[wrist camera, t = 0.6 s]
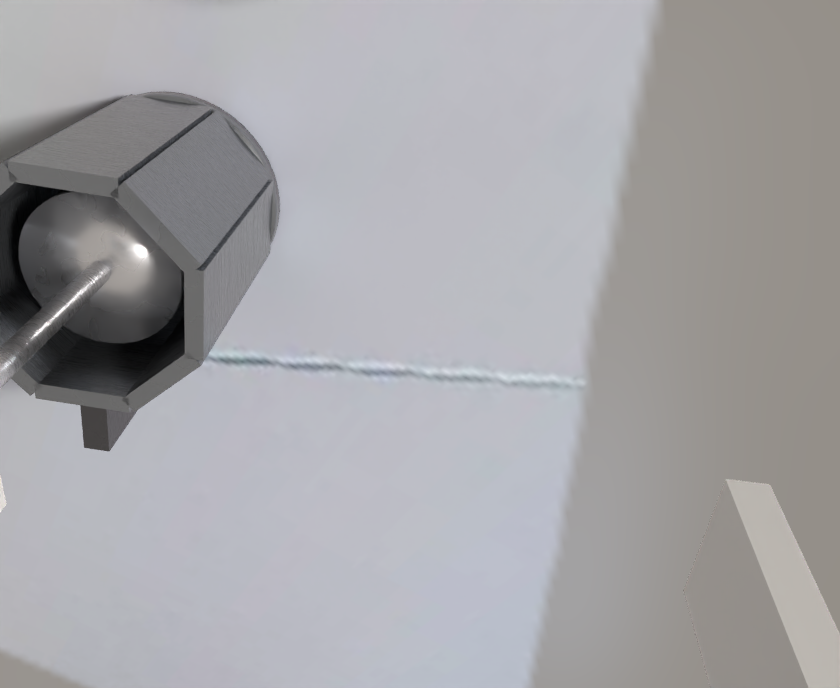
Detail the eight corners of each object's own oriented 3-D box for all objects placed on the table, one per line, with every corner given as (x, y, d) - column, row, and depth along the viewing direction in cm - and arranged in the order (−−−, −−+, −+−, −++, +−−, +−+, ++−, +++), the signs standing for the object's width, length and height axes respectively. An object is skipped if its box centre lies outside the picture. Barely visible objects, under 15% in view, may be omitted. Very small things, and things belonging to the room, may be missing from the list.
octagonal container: (71, 75, 41) (-86, 141, 30) (285, 109, 41) (209, 187, 30) (89, 316, 48) (-33, 443, 37) (272, 345, 48) (207, 480, 37)
